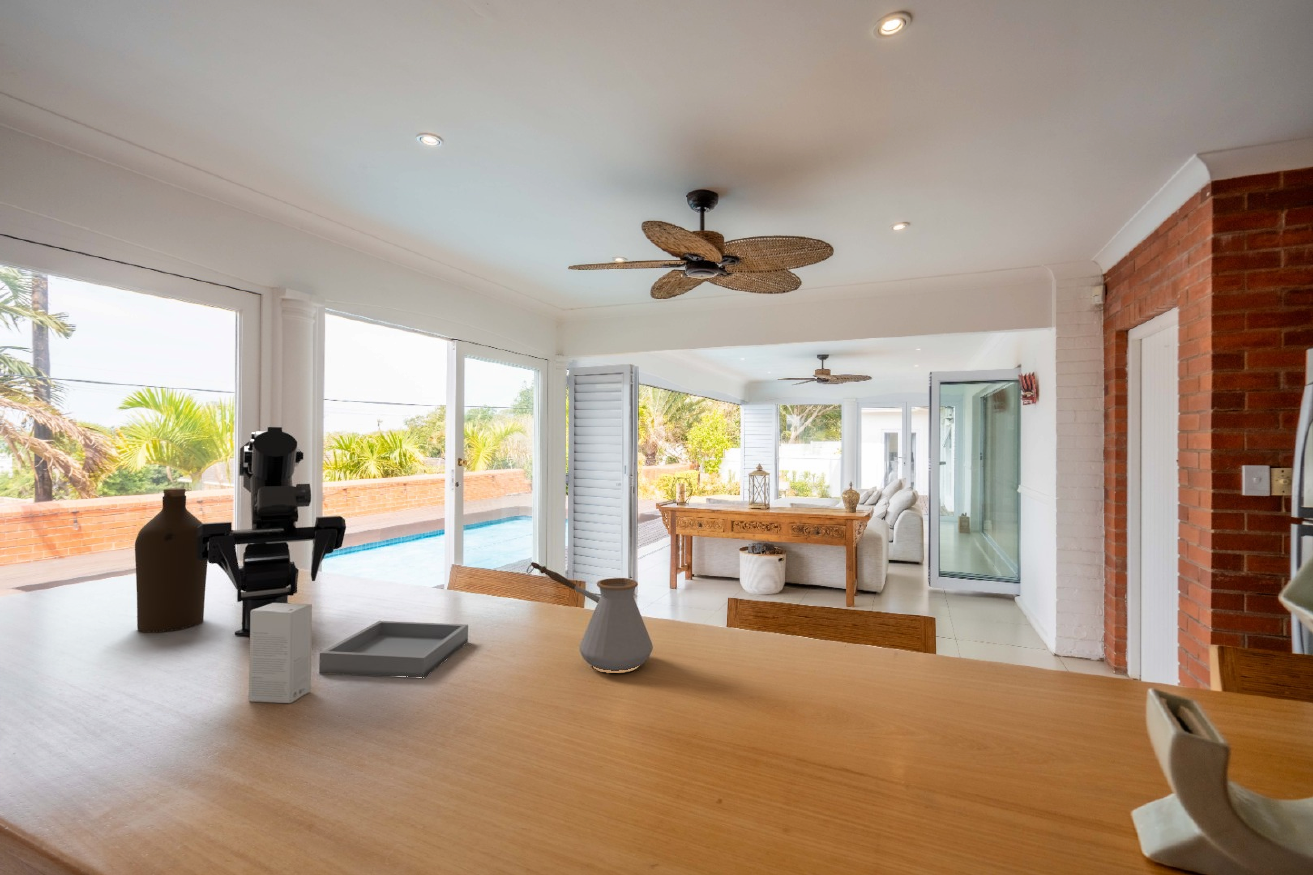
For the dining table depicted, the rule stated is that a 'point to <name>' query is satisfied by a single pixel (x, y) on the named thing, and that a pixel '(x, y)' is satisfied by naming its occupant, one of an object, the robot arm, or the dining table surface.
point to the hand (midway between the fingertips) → (277, 583)
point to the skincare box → (280, 652)
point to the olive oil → (169, 568)
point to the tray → (394, 649)
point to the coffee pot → (611, 624)
